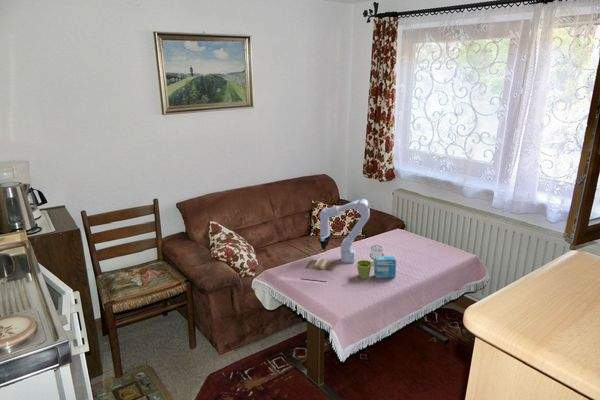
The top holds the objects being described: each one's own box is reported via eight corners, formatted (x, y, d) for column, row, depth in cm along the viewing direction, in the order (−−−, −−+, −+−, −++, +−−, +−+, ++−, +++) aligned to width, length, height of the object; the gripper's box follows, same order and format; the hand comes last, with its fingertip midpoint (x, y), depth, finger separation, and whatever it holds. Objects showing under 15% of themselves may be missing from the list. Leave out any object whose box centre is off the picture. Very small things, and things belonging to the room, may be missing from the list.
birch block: (327, 262, 266) (327, 259, 265) (324, 269, 257) (323, 266, 256) (318, 261, 268) (318, 258, 267) (314, 268, 259) (314, 265, 258)
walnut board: (337, 264, 266) (337, 262, 266) (332, 273, 254) (332, 271, 254) (310, 261, 271) (310, 259, 271) (304, 270, 260) (304, 268, 259)
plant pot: (370, 281, 243) (370, 267, 241) (354, 279, 247) (354, 265, 244) (373, 274, 252) (373, 261, 249) (357, 272, 255) (358, 259, 252)
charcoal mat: (331, 273, 255) (331, 272, 254) (326, 282, 244) (326, 281, 243) (306, 270, 259) (306, 269, 259) (300, 279, 248) (300, 278, 248)
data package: (375, 278, 246) (375, 260, 243) (374, 274, 251) (374, 256, 247) (395, 277, 246) (396, 259, 243) (393, 274, 250) (394, 256, 247)
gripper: (321, 223, 274) (321, 242, 277) (315, 231, 260) (316, 251, 264) (331, 224, 271) (332, 243, 275) (326, 232, 258) (327, 252, 262)
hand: (325, 247), depth 270 cm, fingers open, 6 cm apart
